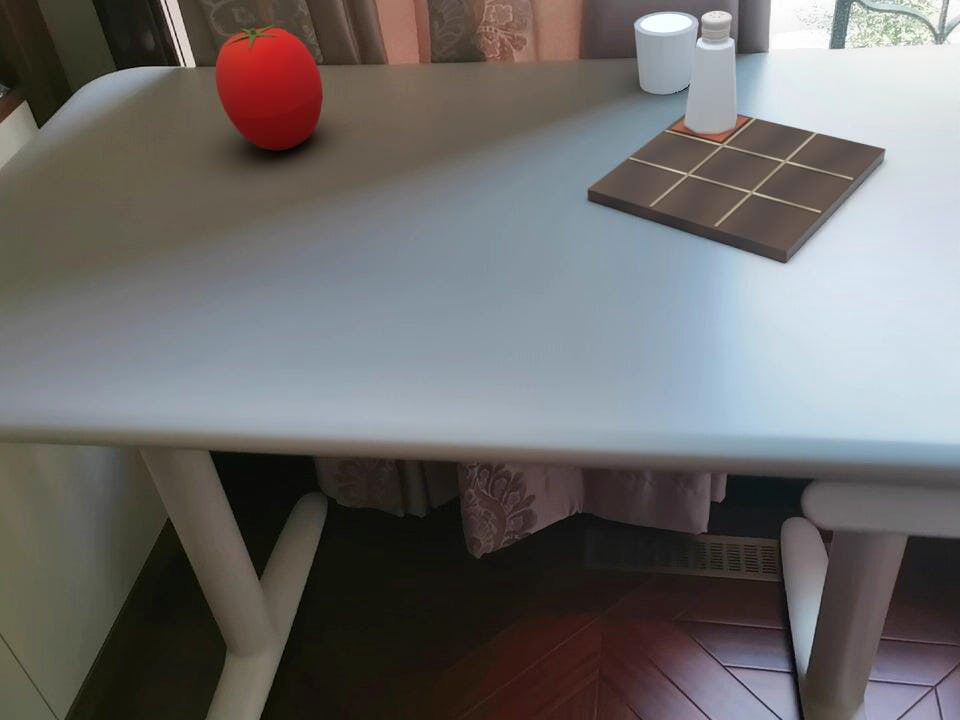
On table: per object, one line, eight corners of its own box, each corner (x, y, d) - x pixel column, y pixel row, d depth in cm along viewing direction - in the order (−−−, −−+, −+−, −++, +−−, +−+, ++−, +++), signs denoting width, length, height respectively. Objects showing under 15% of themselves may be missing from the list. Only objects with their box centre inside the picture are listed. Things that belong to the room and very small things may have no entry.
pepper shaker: (720, 140, 94) (727, 30, 87) (672, 128, 97) (676, 20, 90) (748, 118, 97) (757, 9, 90) (700, 106, 100) (706, 0, 93)
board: (883, 160, 91) (886, 146, 90) (785, 263, 80) (787, 249, 79) (696, 114, 101) (697, 102, 100) (587, 200, 91) (587, 187, 90)
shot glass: (630, 96, 106) (630, 35, 102) (637, 70, 111) (637, 10, 107) (693, 97, 105) (696, 34, 100) (698, 70, 110) (700, 9, 105)
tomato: (346, 148, 104) (322, 33, 95) (250, 178, 101) (216, 61, 92) (315, 111, 112) (289, 1, 104) (225, 137, 109) (191, 27, 101)
